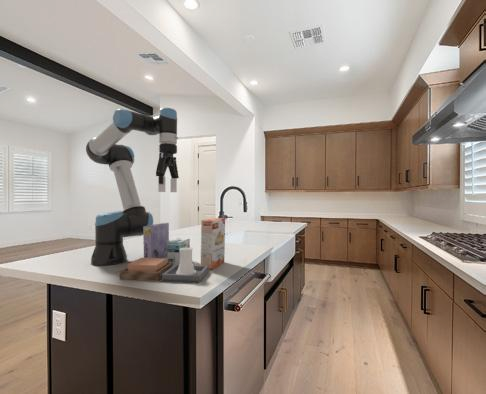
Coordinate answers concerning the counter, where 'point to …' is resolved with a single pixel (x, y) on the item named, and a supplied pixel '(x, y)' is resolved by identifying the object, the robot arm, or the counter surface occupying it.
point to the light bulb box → (176, 249)
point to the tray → (173, 277)
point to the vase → (186, 262)
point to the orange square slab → (147, 264)
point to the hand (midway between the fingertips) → (168, 192)
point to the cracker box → (212, 242)
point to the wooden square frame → (144, 273)
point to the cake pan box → (156, 240)
